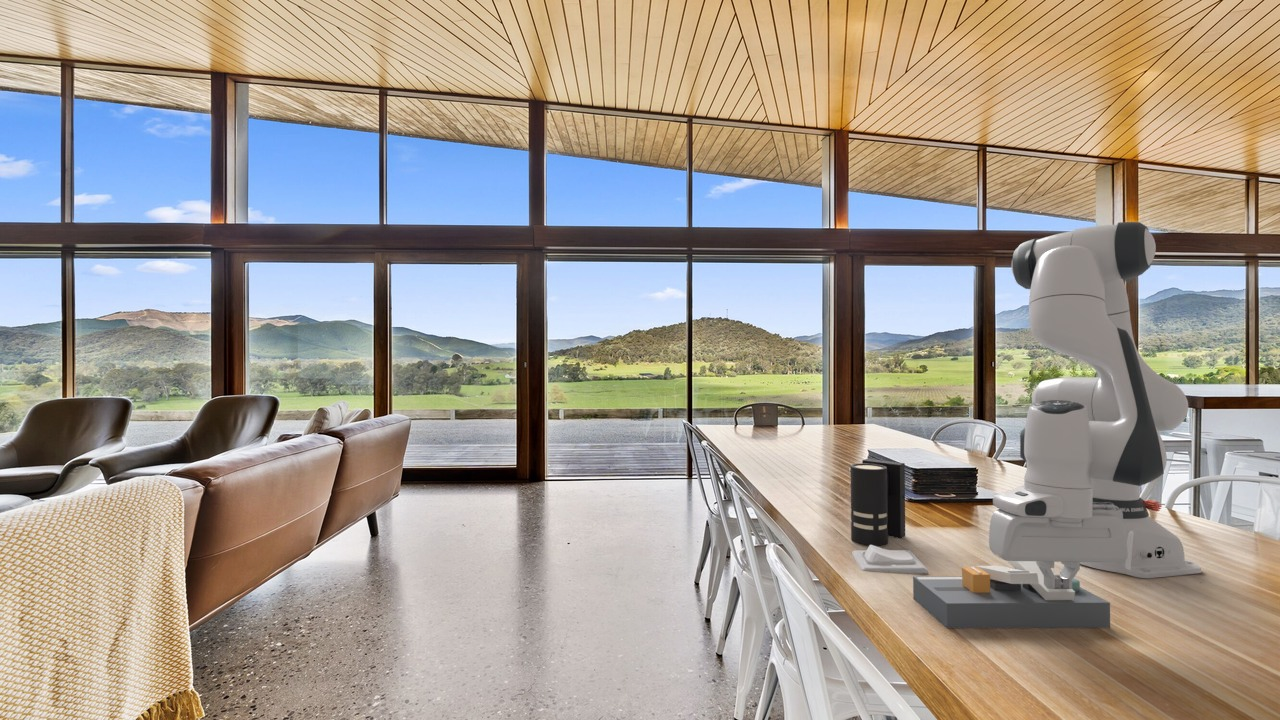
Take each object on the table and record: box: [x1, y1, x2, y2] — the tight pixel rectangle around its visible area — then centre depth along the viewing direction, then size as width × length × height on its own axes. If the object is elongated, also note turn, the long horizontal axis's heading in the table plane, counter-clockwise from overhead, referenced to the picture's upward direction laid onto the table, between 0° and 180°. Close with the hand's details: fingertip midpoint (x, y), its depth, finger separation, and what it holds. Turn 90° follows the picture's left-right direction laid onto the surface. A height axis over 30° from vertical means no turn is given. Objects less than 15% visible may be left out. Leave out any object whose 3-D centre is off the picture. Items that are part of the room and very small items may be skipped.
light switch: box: [851, 545, 929, 574], centre depth 116 cm, size 11×4×13 cm
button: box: [1072, 577, 1081, 592], centre depth 93 cm, size 3×3×1 cm
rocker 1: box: [973, 565, 1039, 584], centre depth 93 cm, size 4×10×2 cm, turn 179°
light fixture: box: [850, 458, 906, 548], centre depth 132 cm, size 10×14×18 cm
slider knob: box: [961, 566, 990, 593], centre depth 93 cm, size 3×3×3 cm
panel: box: [912, 575, 1111, 629], centre depth 93 cm, size 26×11×5 cm, turn 89°
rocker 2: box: [1007, 561, 1075, 600], centre depth 93 cm, size 4×10×2 cm, turn 179°
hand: (1057, 587), depth 88 cm, fingers closed, pressing on rocker 2
